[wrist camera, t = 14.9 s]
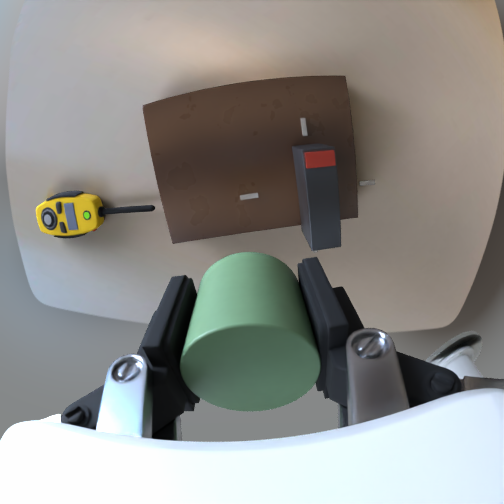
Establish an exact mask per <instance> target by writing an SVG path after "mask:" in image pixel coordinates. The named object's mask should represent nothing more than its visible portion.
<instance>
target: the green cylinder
mask: <svg viewBox="0 0 504 504" xmlns="http://www.w3.org/2000/svg"><path fill="white" fill-rule="evenodd" d="M180 371H181V375H182V378H183V380H184V382H185V383H186V385H187V386H188V388H189V389H190V390H191V391H192V392H193V393H194V394H196V395H197V396H198V397H200V398H202V399H203V400H205V401H207V402H209V403H211V404H213V405H216V406H219V407H222V408H226V409H230V410H236V411H263V410H269V409H274V408H277V407H281V406H284V405H286V404H289V403H291V402H293V401H295V400H297V399H298V398H300V397H302V396H303V395H304V394H306V393H307V392H308V391H309V390H310V389H311V388H312V387H313V385H314V384H315V383H316V381H317V379H318V377H319V374H320V371H321V359H320V355H319V351H318V347H317V344H316V340H315V337H314V333H313V330H312V326H311V323H310V319H309V316H308V312H307V309H306V306H305V302H304V299H303V296H302V292H301V289H300V286H299V282H298V280H297V278H296V276H295V274H294V273H293V271H292V270H291V269H290V268H289V267H288V266H287V265H286V264H285V263H283V262H282V261H280V260H279V259H277V258H275V257H272V256H270V255H267V254H263V253H257V252H242V253H237V254H233V255H230V256H227V257H225V258H223V259H221V260H219V261H217V262H216V263H215V264H213V265H212V266H211V267H210V268H209V269H208V270H207V272H206V273H205V274H204V276H203V278H202V280H201V282H200V286H199V289H198V293H197V297H196V300H195V304H194V308H193V312H192V316H191V319H190V323H189V327H188V331H187V335H186V339H185V343H184V347H183V351H182V355H181V360H180Z"/></svg>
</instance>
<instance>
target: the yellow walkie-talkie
mask: <svg viewBox="0 0 504 504" xmlns="http://www.w3.org/2000/svg"><path fill="white" fill-rule="evenodd" d="M154 210H155V207H154V206H153V205H145V206H130V207H117V208H104V206H103V205H102V202H101V199H100V198H99V197H98V196H96V195H91V194H85V193H83V192H81V191H67V192H63V193H59V194H56V195H54V196H52V197H50V198H48V199H47V200H46V201H45V202H43V203H42V204H40V205H39V206H38V207H37V208H36V216H37V221H38V225H39V228H40V230H41V231H42V232H44V233H47V234H50V235H55V236H54V237H58V238H75V237H79V236H82V235H85V234H86V233H88V232H90V231H95V230H97V228H98V227H99V226H100V225H102V224H103V222H104V216H105V214H116V213H131V212H148V211H154Z"/></svg>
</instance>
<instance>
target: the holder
mask: <svg viewBox="0 0 504 504" xmlns="http://www.w3.org/2000/svg"><path fill="white" fill-rule="evenodd" d="M292 151H293V158H294V166H295V174H296V182H297V190H298V199H299V208H300V218H301V228H302V232H303V234H304V236H305V238H306V240H307V242H308V244H309V246H310V248H311V250H312V251H316V250H322V249H329V248H335V247H341V222H340V202H339V187H338V174H337V163H336V153H335V147H333V146H328V145H324V144H308V145H298V146H292Z"/></svg>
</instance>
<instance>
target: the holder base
mask: <svg viewBox="0 0 504 504" xmlns="http://www.w3.org/2000/svg"><path fill="white" fill-rule="evenodd" d="M142 108H143V114H144V120H145V125H146V131H147V136H148V141H149V147H150V152H151V156H152V161H153V166H154V171H155V175H156V180H157V184H158V188H159V193H160V197H161V201H162V205H163V209H164V213H165V217H166V221H167V225H168V228H169V232H170V236H171V239H172V243H173V244H175V243H181V242H187V241H194V240H200V239H207V238H213V237H220V236H226V235H233V234H240V233H246V232H253V231H260V230H267V229H274V228H281V227H289V226H296V225H301V218H300V208H299V199H298V190H297V182H296V174H295V166H294V158H293V151H292V146H298V145H308V144H324V145H328V146H333V147H335V153H336V163H337V174H338V187H339V202H340V220H342V219H350V218H358V197H357V175H356V160H355V147H354V137H353V127H352V118H351V110H350V103H349V96H348V89H347V83H346V77H345V76H304V77H288V78H276V79H266V80H257V81H250V82H243V83H236V84H230V85H224V86H218V87H213V88H208V89H203V90H199V91H194V92H190V93H186V94H182V95H178V96H174V97H170V98H166V99H163V100H159V101H156V102H152V103H149V104H146V105H143V106H142ZM359 184H360V186H362V185H374V184H375V180H367V181H359ZM313 252H314V253H315V252H318V250H316V251H313Z"/></svg>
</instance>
